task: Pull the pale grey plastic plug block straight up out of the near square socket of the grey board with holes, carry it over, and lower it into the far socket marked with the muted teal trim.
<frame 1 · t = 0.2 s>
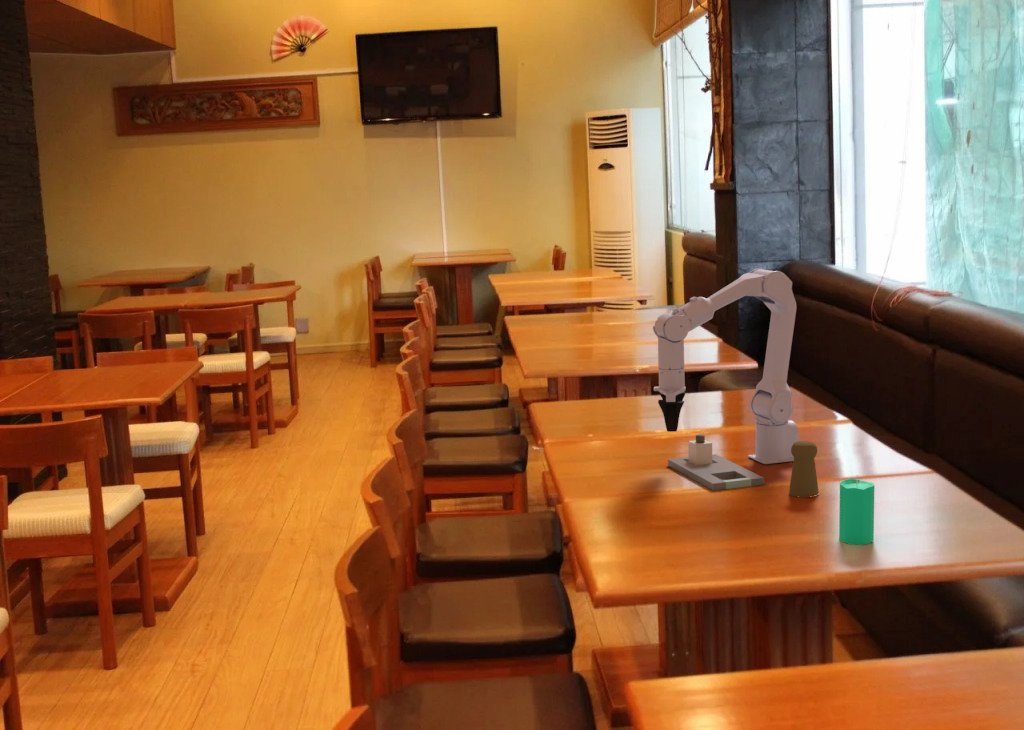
hand: (672, 427, 258), 10 cm above the table, tool pointing down, fingers open, 7 cm apart
plug: (700, 467, 262), resting in grey board with holes
grey board with holes: (714, 474, 255), on the table
cork: (803, 494, 238), on the table
candle: (856, 540, 208), on the table
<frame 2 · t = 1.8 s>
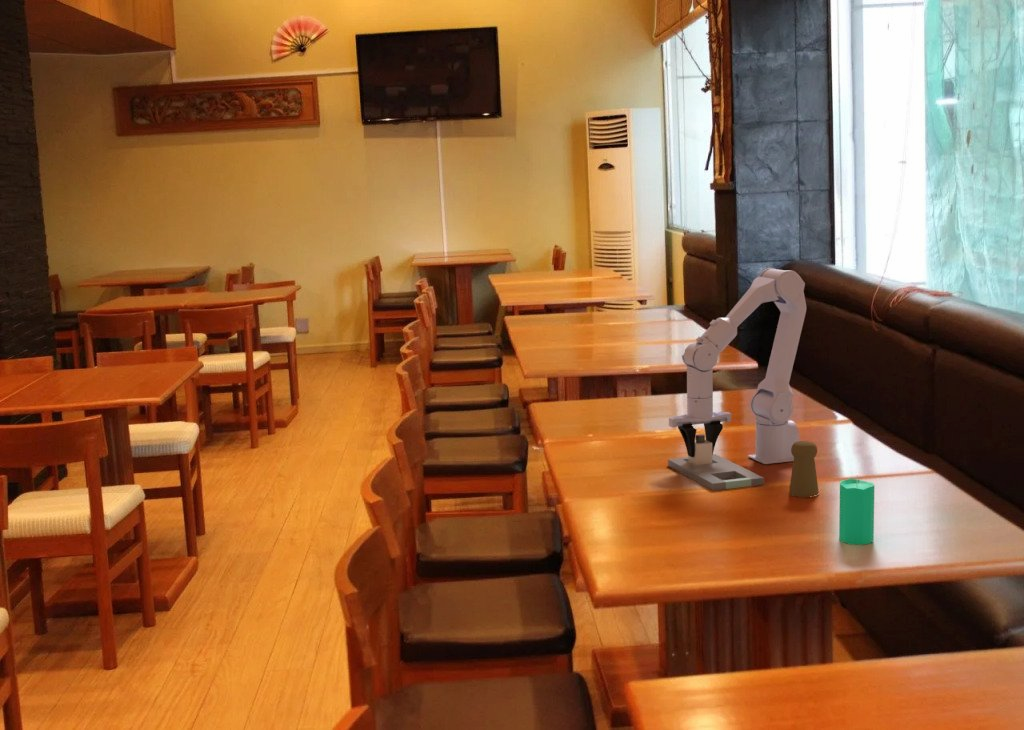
hand: (700, 455, 261), 3 cm above the table, tool pointing down, fingers closed on plug, 4 cm apart
plug: (700, 467, 262), resting in grey board with holes, touching gripper
everything else where it was.
when the fingers open (4 cm above the table, at t = 5.9 s): plug stays where it is, resting in grey board with holes.
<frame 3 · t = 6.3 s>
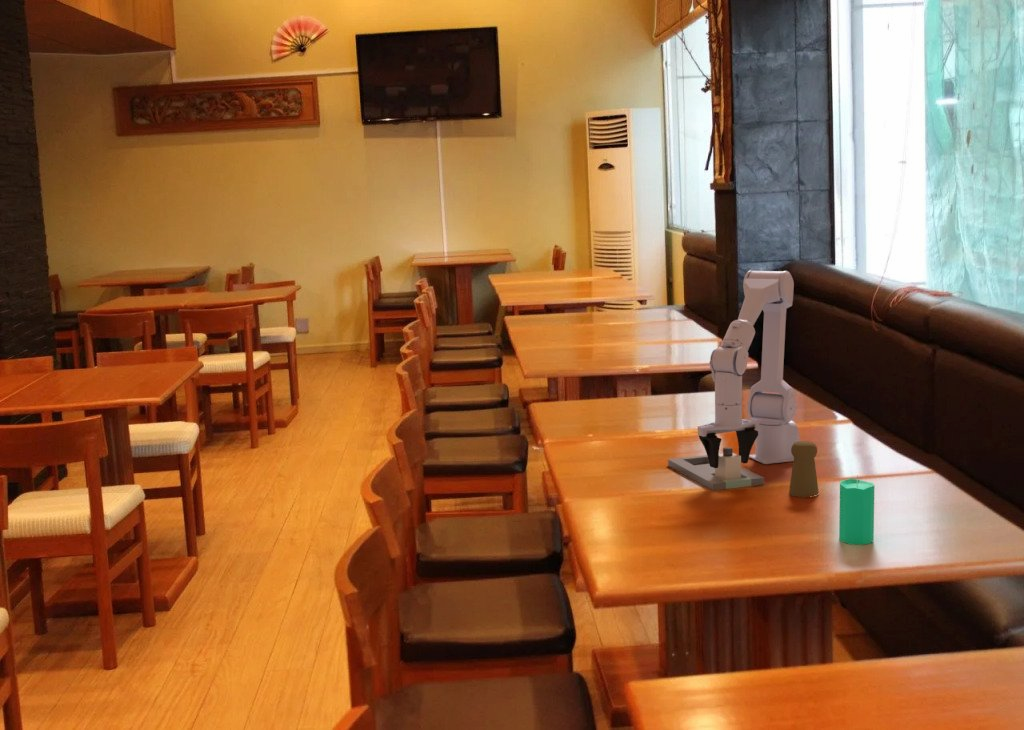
hand: (728, 464, 248), 4 cm above the table, tool pointing down, fingers open, 7 cm apart
plug: (727, 482, 249), resting in grey board with holes
everything else where it was.
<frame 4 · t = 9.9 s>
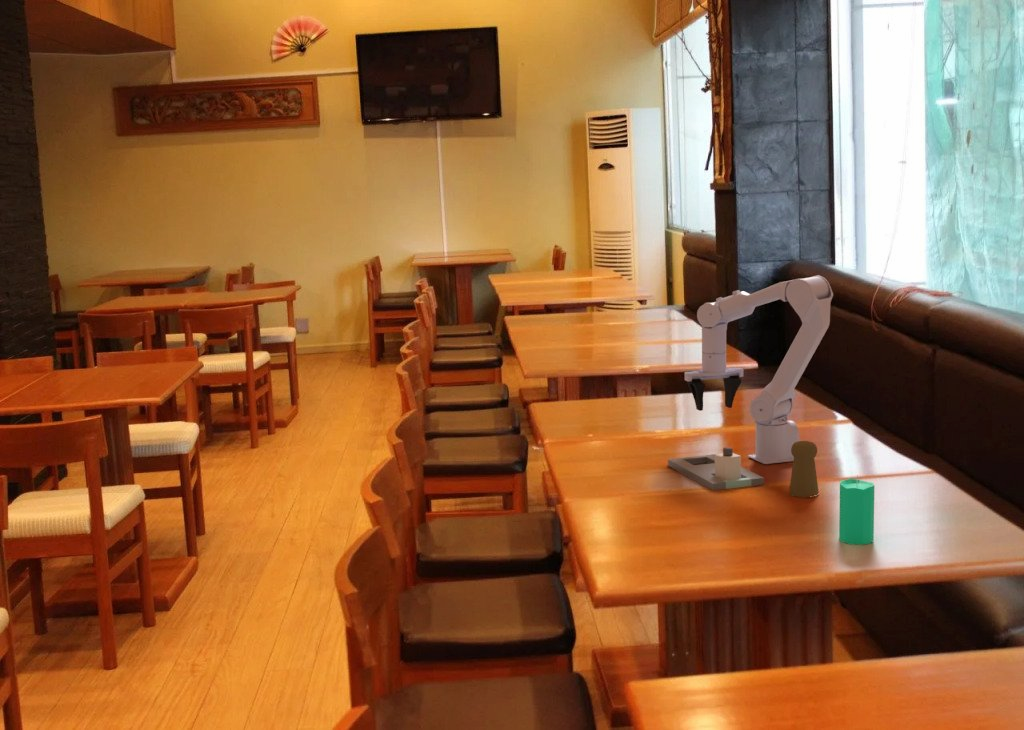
hand: (714, 408, 275), 10 cm above the table, tool pointing down, fingers open, 7 cm apart
nothing on the table moved.
at the end: plug 0.4 cm from the target spot on the grey board with holes, point 0.0 cm above the grey board with holes's base; plug tilted 0°; the gripper is holding nothing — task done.
